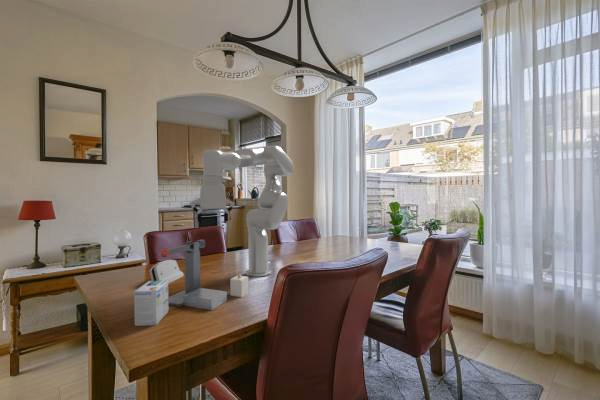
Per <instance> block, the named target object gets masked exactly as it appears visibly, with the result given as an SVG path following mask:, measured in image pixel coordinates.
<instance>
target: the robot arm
mask: <svg viewBox="0 0 600 400" xmlns="http://www.w3.org/2000/svg"><path fill="white" fill-rule="evenodd" d="M202 157H203V159H202V163H203V164H202V165H203V167H202V172H203V173H202V175H203V177H202V178H203V179H202V180H203V181H202V183H203V184H200V190H199V198H197V199H195V200H194V201H190V203H189V205H190V206H191V208H192V210H193V211H195V213H197V222H198V223H199V225H202V221H203V220H202V219H203V218H202V212H203V210H222V211H224V213H223V223H224V224H227V222H228V221H229V213H230V212H231V211H232V210H233V208H234V206H235V204H236V203H235V202H234V201H232V200H230V199H228V198H227V194H226V187H225V184H223V183H225V182H226V183H227V178H224V177H223V174H224V173H223V172H224V171H232V170H236V169H237V168H249V167H255V166H260V165H263V174H264V177H265V178H264V179H265V185H264V188H263V189H262V192H261V193H260V195H259V197H258V199H257V207H258V208H254V209H253V208H252V209H251V210H249V211H248V212H247V214H246V216H245V220H246V226H247V234H248V235H247V236H248V269H246V270H245V276H247V277H256V278H257V277H266V276H268V275H271V274H272V269H270V268H269V266H271V265H272V264H271V261H269V236H268V232H267V231H266V230H277V229H278V228H279V227H280V226H281V223H282V221H283V219H284V217H285V214H286V212H287V210H288V207H289V203H290V202H289V196H288V195H287V194H286V193H285V192H283V191H281V190H282V185H281V182H280V181H279V178H278V177H290V176H292V174H293V173H294V171H295V166H294V162H293V160H292V159H291V157H289V156H288V154H287V153H286V152H285V151H284V150H283V148H281V147H280V146H279V145H266V146H265V145H264V146H257V147H246V148H241V149H236V150H230V151H221V150H218V149H207V150H204V151H203V155H202ZM198 203H199V208H197V207H196V204H198ZM227 203H228V204H230V206H229V207H228V208H227Z"/></svg>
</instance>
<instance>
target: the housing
mask: <svg viewBox="0 0 600 400" xmlns="http://www.w3.org/2000/svg"><path fill="white" fill-rule="evenodd" d="M229 280H230V281H229V282H230V296H232V297H238V298H242V297H244V296H246V295H248V294H249V276H247V275H245V276H244V275H242V274H241V273H238V275H236V276H234V277H231V278H230V279H229Z"/></svg>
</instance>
